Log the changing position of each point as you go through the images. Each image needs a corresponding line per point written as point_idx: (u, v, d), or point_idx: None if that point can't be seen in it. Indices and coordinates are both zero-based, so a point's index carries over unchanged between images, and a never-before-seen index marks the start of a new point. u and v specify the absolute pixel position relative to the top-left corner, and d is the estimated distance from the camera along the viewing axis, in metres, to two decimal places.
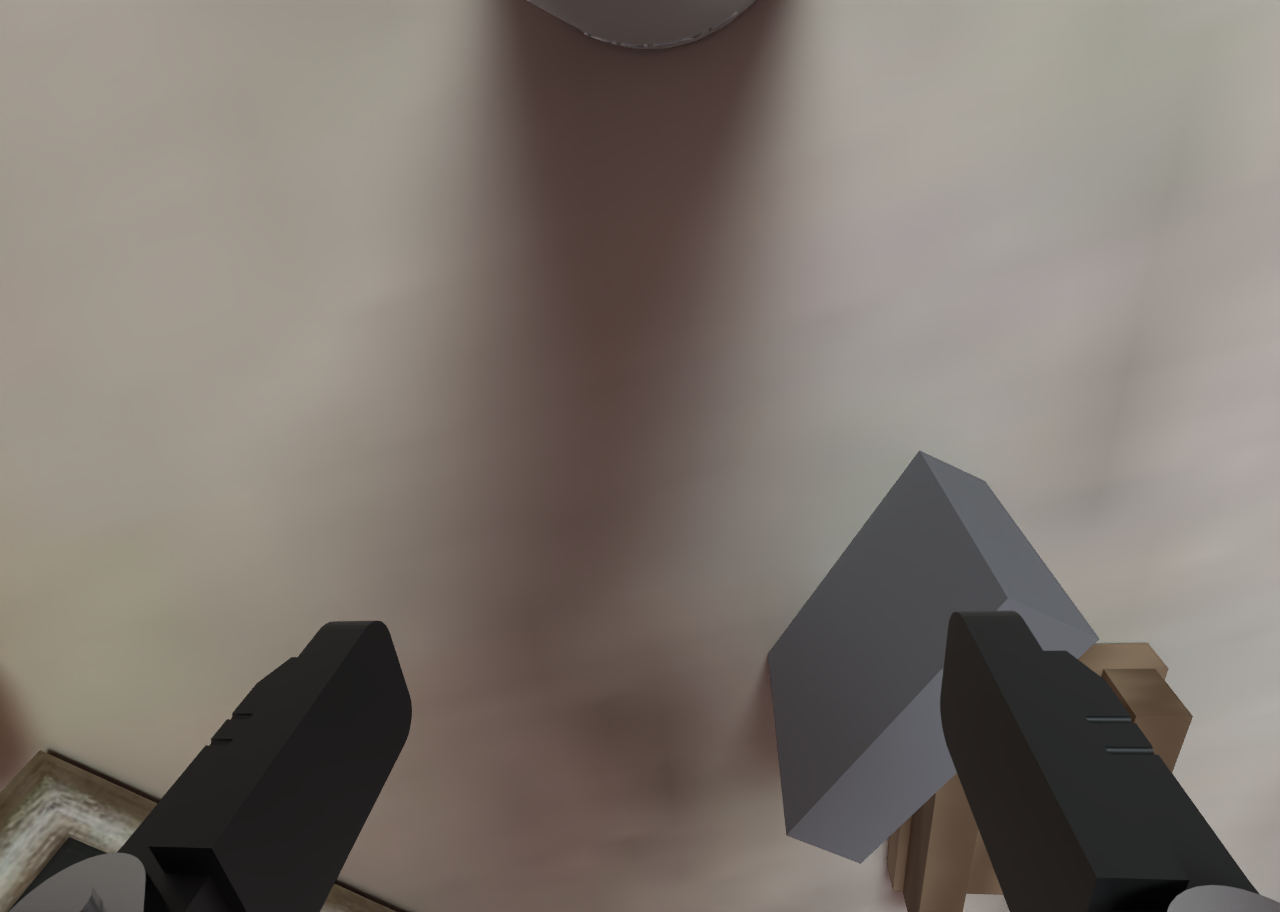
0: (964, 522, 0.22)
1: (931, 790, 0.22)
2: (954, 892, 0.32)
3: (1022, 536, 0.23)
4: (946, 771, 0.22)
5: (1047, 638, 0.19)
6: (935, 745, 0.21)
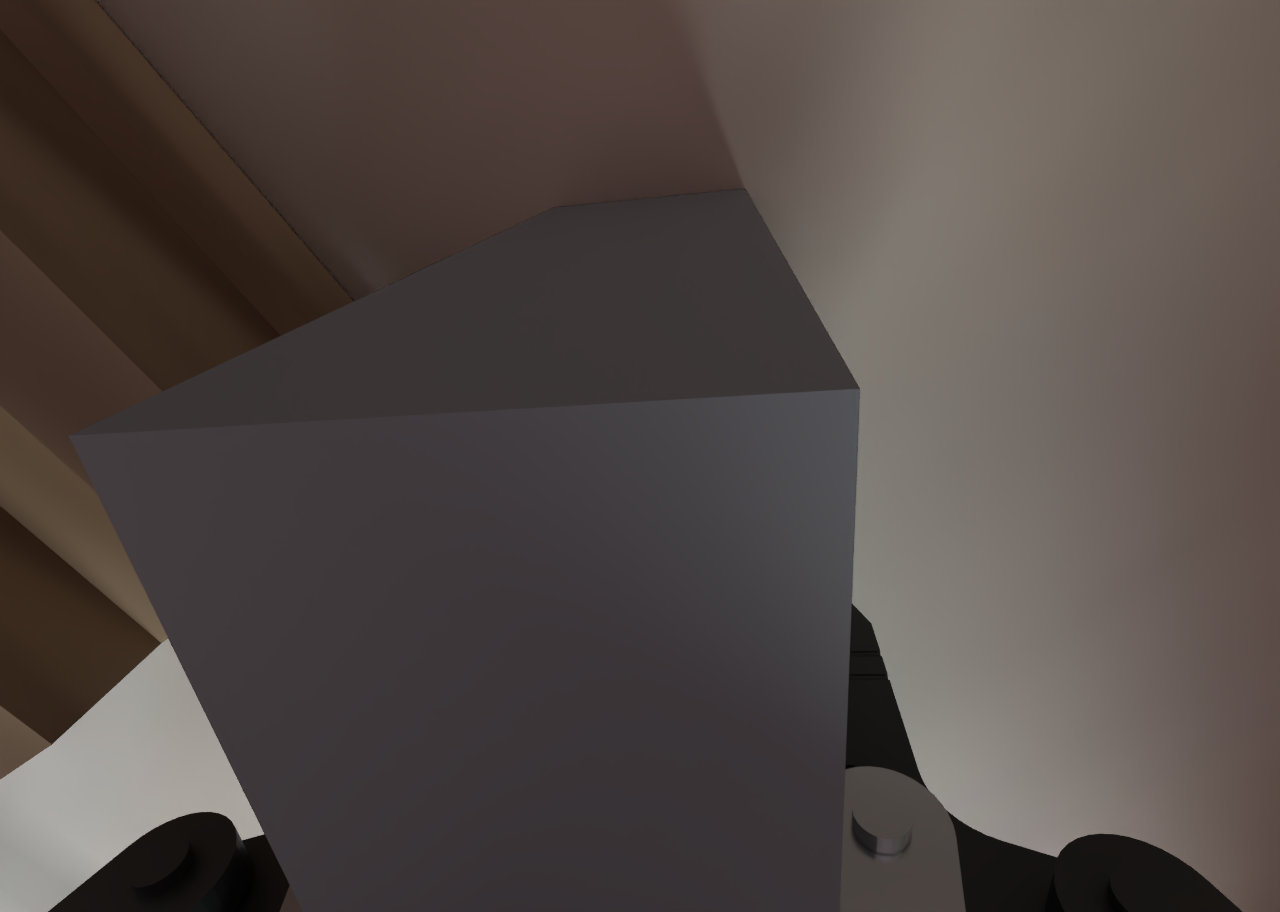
0: None
1: None
2: None
3: None
4: None
5: None
6: None
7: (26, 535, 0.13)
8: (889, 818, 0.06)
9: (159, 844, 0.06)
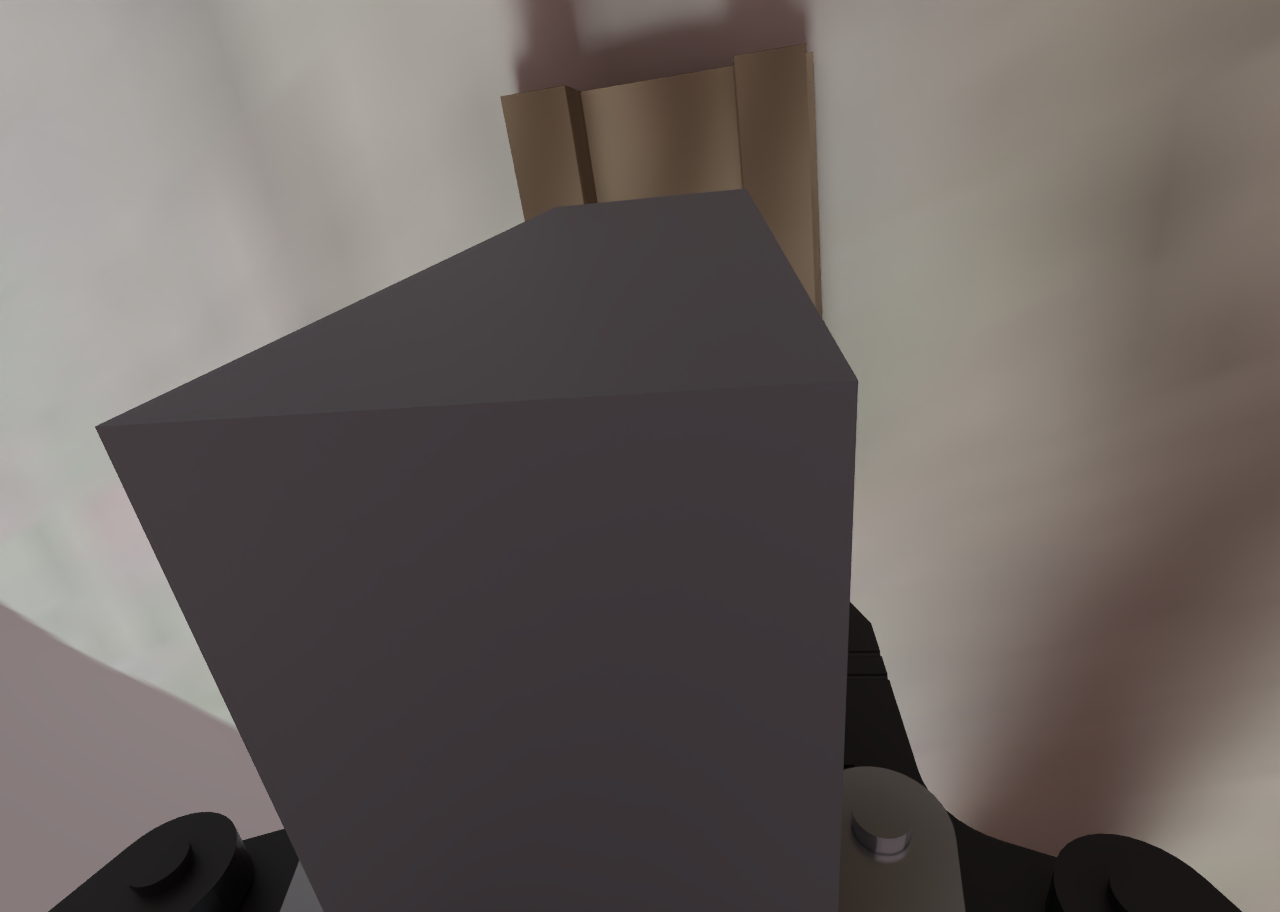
0: None
1: None
2: (762, 210, 0.21)
3: None
4: None
5: None
6: None
7: None
8: (888, 818, 0.06)
9: (159, 844, 0.06)
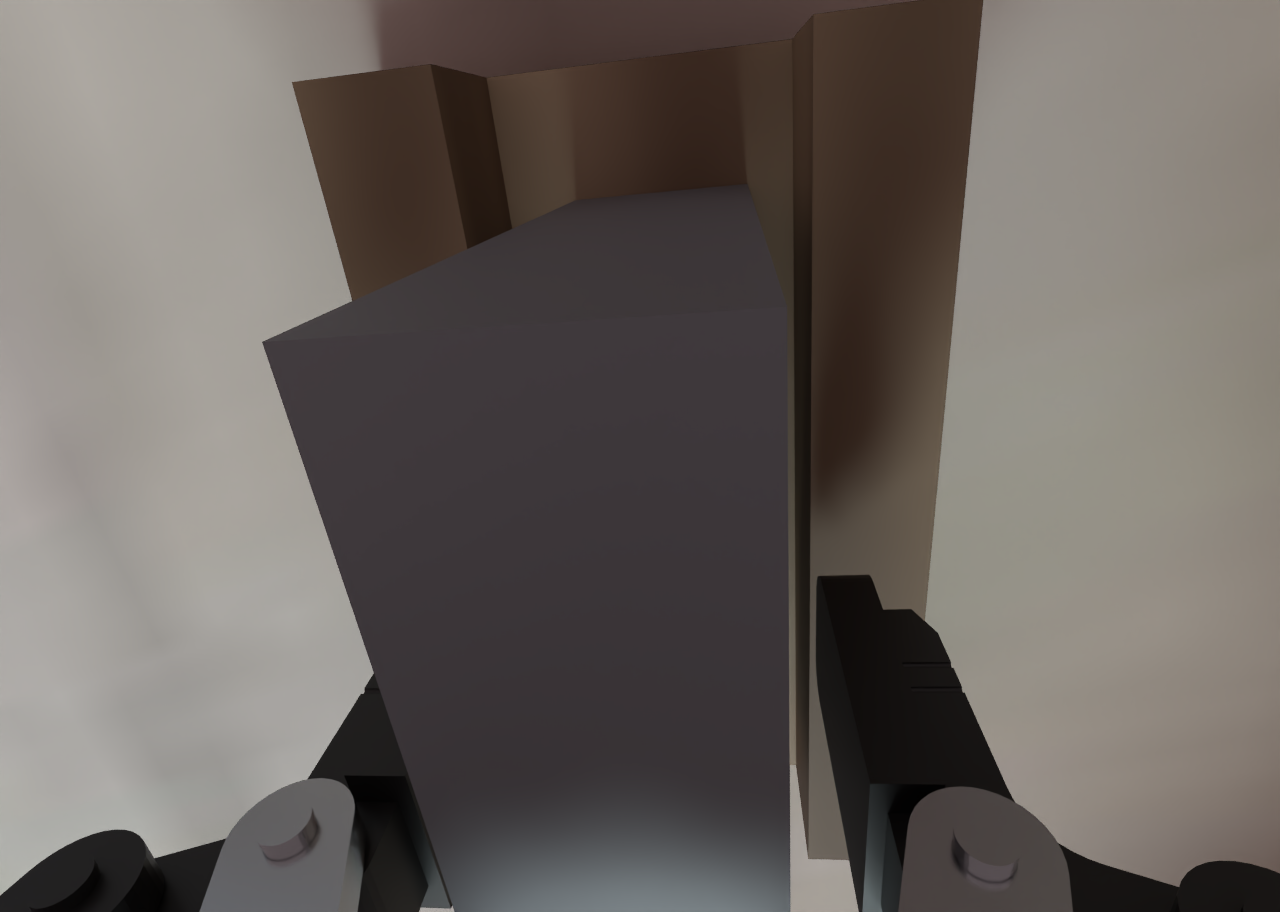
0: None
1: (453, 850, 0.06)
2: (847, 345, 0.10)
3: None
4: None
5: None
6: None
7: None
8: (994, 844, 0.06)
9: (62, 866, 0.06)
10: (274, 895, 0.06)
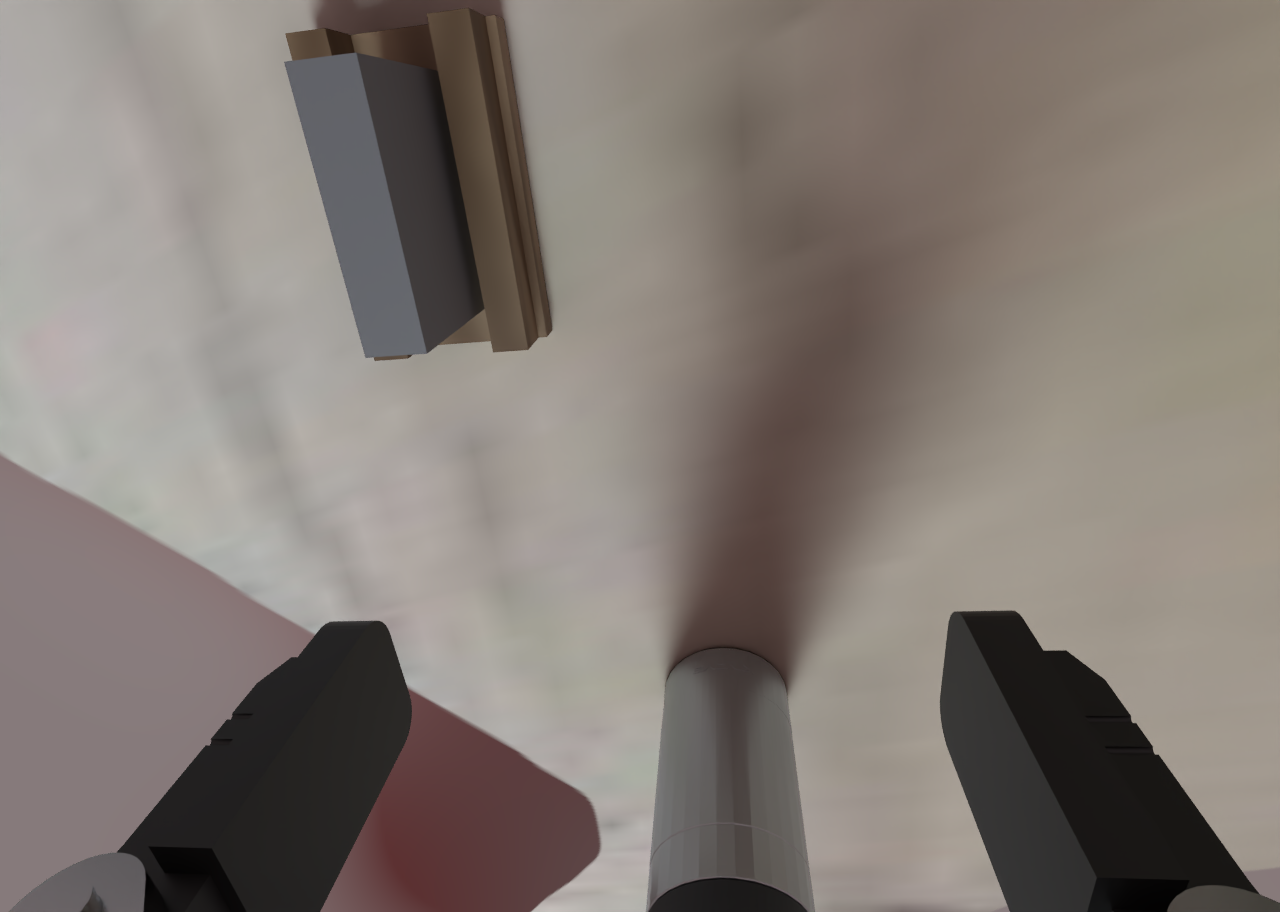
0: (453, 331, 0.35)
1: (322, 184, 0.28)
2: (457, 116, 0.33)
3: None
4: (331, 208, 0.29)
5: (386, 343, 0.31)
6: (358, 226, 0.29)
7: None
8: None
9: None
10: None
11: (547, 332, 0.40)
